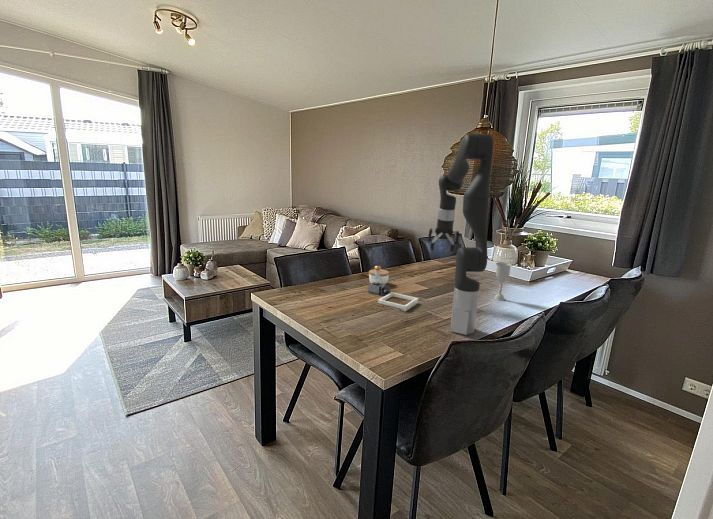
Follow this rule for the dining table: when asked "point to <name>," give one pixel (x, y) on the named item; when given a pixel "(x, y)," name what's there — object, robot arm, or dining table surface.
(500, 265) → the chalice
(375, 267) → the pin
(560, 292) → the dining table surface
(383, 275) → the lidded jar
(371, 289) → the block
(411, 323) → the dining table surface
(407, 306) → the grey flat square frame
